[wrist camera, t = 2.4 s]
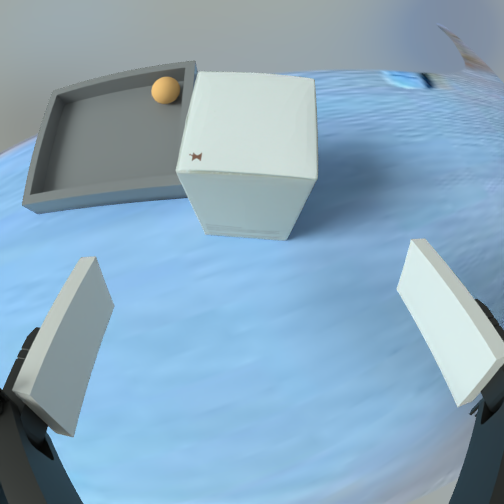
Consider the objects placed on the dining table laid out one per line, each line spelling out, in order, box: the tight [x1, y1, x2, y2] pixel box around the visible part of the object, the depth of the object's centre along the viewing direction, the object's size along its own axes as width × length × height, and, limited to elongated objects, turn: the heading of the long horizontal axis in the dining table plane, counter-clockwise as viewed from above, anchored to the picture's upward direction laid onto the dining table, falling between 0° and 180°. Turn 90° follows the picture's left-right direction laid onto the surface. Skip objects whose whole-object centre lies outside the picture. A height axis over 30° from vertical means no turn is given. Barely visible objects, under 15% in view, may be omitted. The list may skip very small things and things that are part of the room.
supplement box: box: [176, 71, 318, 241], centre depth 21 cm, size 7×7×13 cm
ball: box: [151, 77, 180, 104], centre depth 27 cm, size 3×3×3 cm
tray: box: [22, 61, 198, 214], centre depth 27 cm, size 18×15×3 cm
